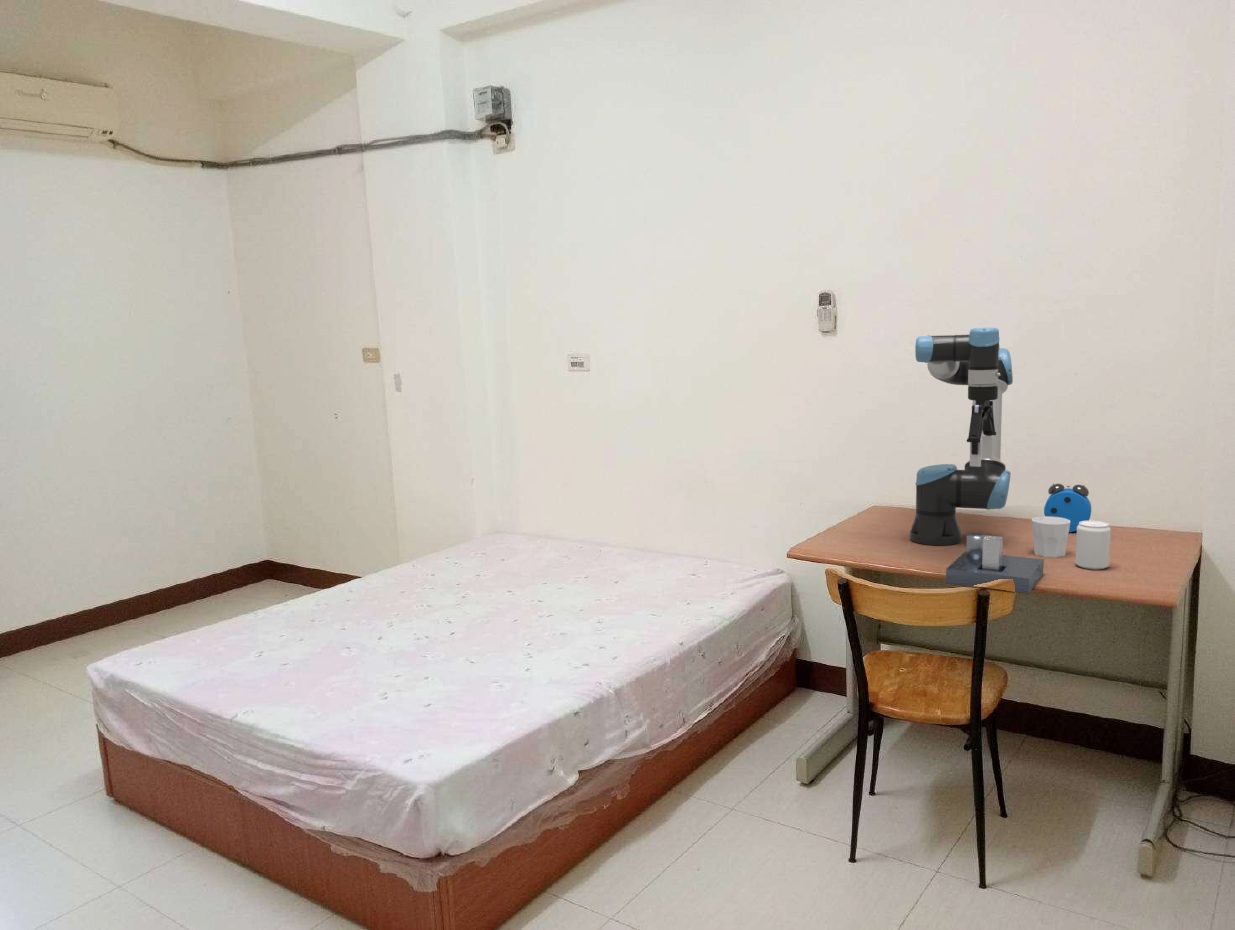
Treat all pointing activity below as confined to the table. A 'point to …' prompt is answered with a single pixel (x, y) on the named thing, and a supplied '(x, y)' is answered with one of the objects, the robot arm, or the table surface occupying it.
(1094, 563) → the beverage can
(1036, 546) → the cup
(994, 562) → the grey square peg
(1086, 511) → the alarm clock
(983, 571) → the slotted metal base
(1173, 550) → the table surface
